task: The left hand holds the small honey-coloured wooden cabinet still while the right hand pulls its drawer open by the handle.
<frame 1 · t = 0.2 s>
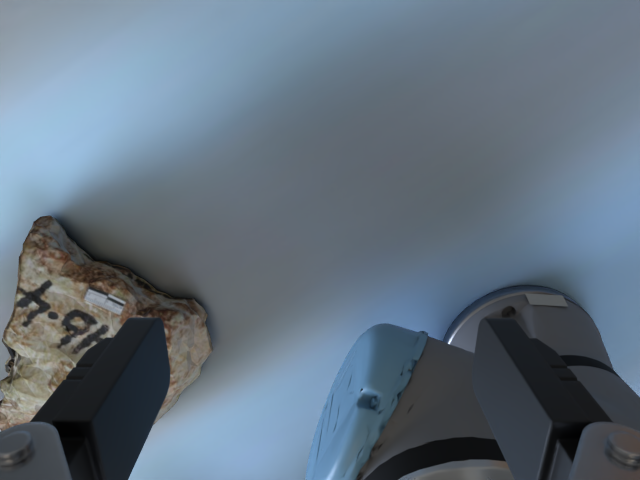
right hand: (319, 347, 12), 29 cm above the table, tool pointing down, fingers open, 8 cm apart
stone: (103, 353, 47), on the table
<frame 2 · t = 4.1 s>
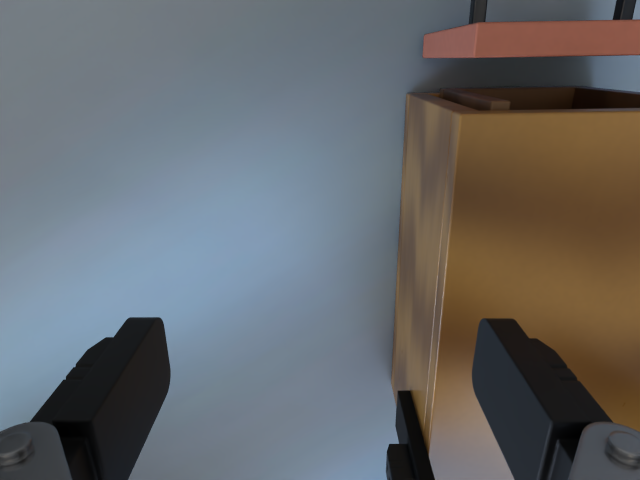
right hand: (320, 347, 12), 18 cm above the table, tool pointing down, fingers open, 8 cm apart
drawer: (530, 177, 23), point 5 cm above the table, slide at 1.9 cm
cabinet: (479, 255, 31), on the table, touching left hand
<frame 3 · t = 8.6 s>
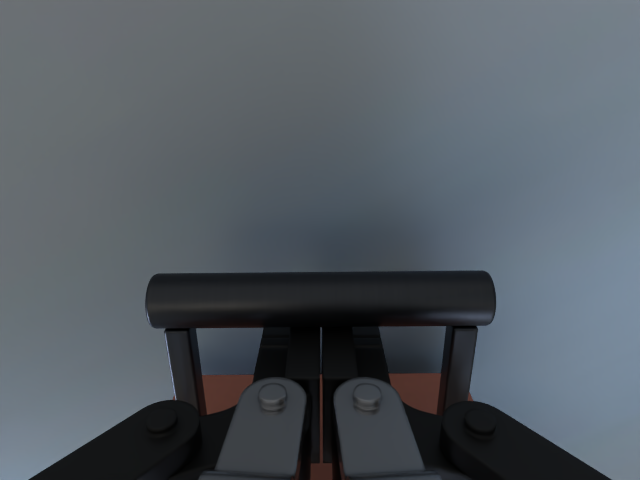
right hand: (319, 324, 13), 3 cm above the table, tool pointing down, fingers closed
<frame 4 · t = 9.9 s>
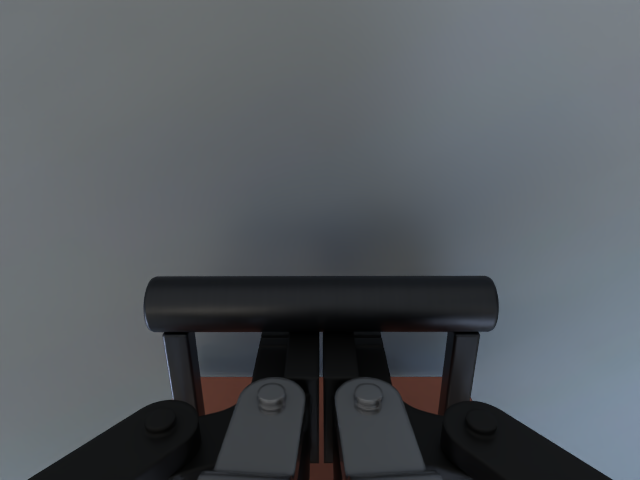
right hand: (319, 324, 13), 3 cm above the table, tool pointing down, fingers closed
when the left hand's fingers open (6 cm above the table, at t = 11.8 s): cabinet stays where it is, on the table.
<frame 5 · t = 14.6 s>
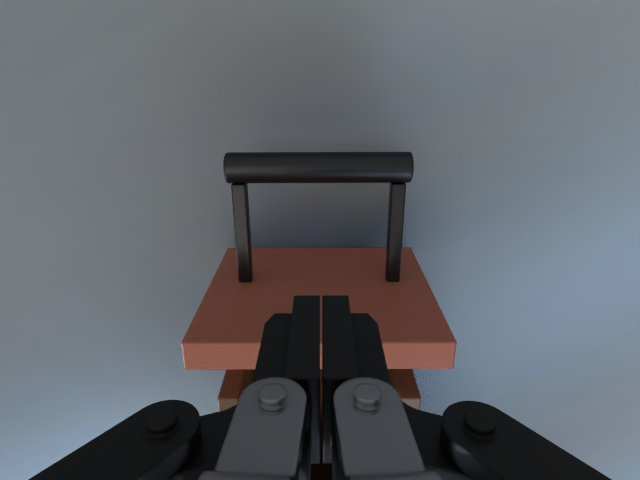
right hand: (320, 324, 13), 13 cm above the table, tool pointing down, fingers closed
drawer: (319, 408, 23), point 5 cm above the table, slide at 8.4 cm
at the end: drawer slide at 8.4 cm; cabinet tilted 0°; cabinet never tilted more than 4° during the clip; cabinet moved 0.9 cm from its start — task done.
